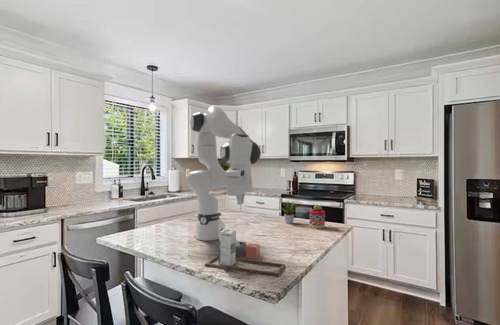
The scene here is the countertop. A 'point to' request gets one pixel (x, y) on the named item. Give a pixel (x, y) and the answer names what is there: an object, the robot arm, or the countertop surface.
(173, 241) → the countertop surface
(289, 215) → the house plant
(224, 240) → the syrup box
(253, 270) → the frame
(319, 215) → the potted succulent
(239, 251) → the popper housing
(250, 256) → the die
